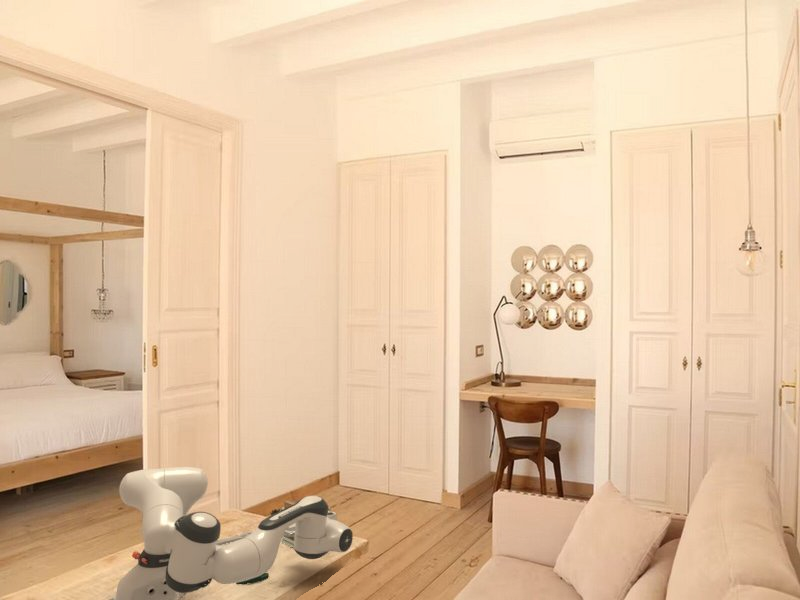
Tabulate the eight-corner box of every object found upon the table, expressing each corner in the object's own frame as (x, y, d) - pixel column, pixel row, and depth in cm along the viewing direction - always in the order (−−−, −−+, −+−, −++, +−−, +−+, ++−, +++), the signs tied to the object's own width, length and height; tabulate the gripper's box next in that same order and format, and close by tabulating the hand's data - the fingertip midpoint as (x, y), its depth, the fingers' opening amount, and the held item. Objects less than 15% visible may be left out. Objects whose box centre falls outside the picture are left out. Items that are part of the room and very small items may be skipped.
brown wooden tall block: (293, 541, 220) (293, 505, 220) (283, 536, 224) (283, 501, 224) (303, 538, 223) (304, 503, 223) (293, 533, 227) (293, 499, 227)
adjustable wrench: (196, 552, 236) (196, 547, 236) (191, 546, 242) (191, 541, 242) (261, 539, 250) (261, 534, 250) (255, 534, 255) (255, 529, 255)
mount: (238, 586, 208) (238, 571, 208) (234, 581, 211) (234, 566, 211) (270, 579, 213) (271, 564, 213) (265, 574, 217) (266, 559, 217)
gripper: (290, 545, 207) (266, 533, 217) (339, 530, 222) (315, 520, 231) (290, 525, 207) (266, 514, 217) (340, 511, 222) (315, 502, 231)
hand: (292, 517), depth 224 cm, fingers closed on brown wooden tall block, 4 cm apart
